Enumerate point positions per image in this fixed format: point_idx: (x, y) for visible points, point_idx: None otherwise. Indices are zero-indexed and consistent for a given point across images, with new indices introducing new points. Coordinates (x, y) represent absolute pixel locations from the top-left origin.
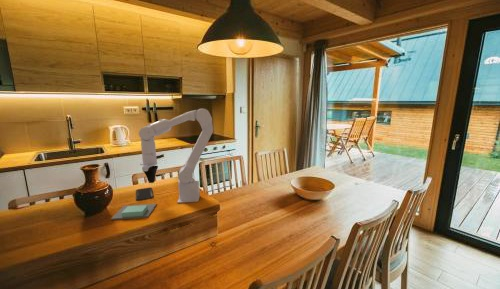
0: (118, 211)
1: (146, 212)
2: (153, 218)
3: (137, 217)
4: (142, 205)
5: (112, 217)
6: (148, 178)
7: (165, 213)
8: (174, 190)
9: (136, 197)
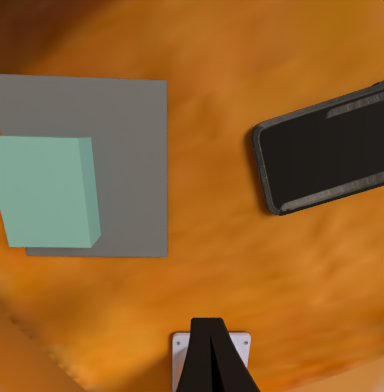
0: (83, 79)
1: None
2: (25, 274)
3: None
4: (86, 223)
5: (2, 76)
6: (189, 372)
7: (73, 307)
8: (348, 292)
9: (292, 116)
